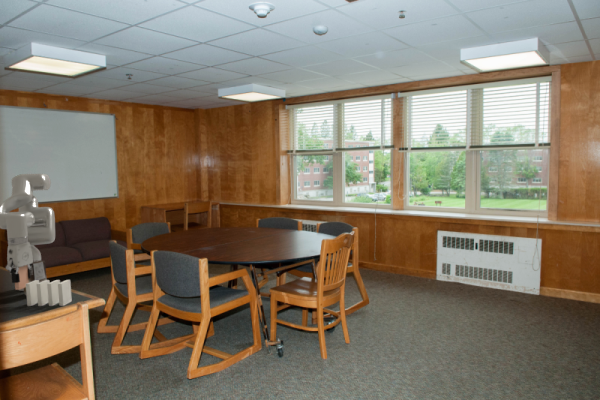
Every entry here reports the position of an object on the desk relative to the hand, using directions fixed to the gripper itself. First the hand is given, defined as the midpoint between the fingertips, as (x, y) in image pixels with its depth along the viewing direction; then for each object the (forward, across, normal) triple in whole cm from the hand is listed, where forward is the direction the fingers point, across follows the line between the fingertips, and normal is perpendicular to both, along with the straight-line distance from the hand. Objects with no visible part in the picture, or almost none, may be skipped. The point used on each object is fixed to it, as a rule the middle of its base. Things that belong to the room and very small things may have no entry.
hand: (21, 280), depth 186 cm
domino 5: (+11, 0, -20) cm, 23 cm away
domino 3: (+11, 0, -10) cm, 15 cm away
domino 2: (+11, 0, -5) cm, 12 cm away
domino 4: (+11, 0, -15) cm, 18 cm away
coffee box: (+11, +15, +5) cm, 19 cm away
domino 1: (+4, 0, 0) cm, 4 cm away
